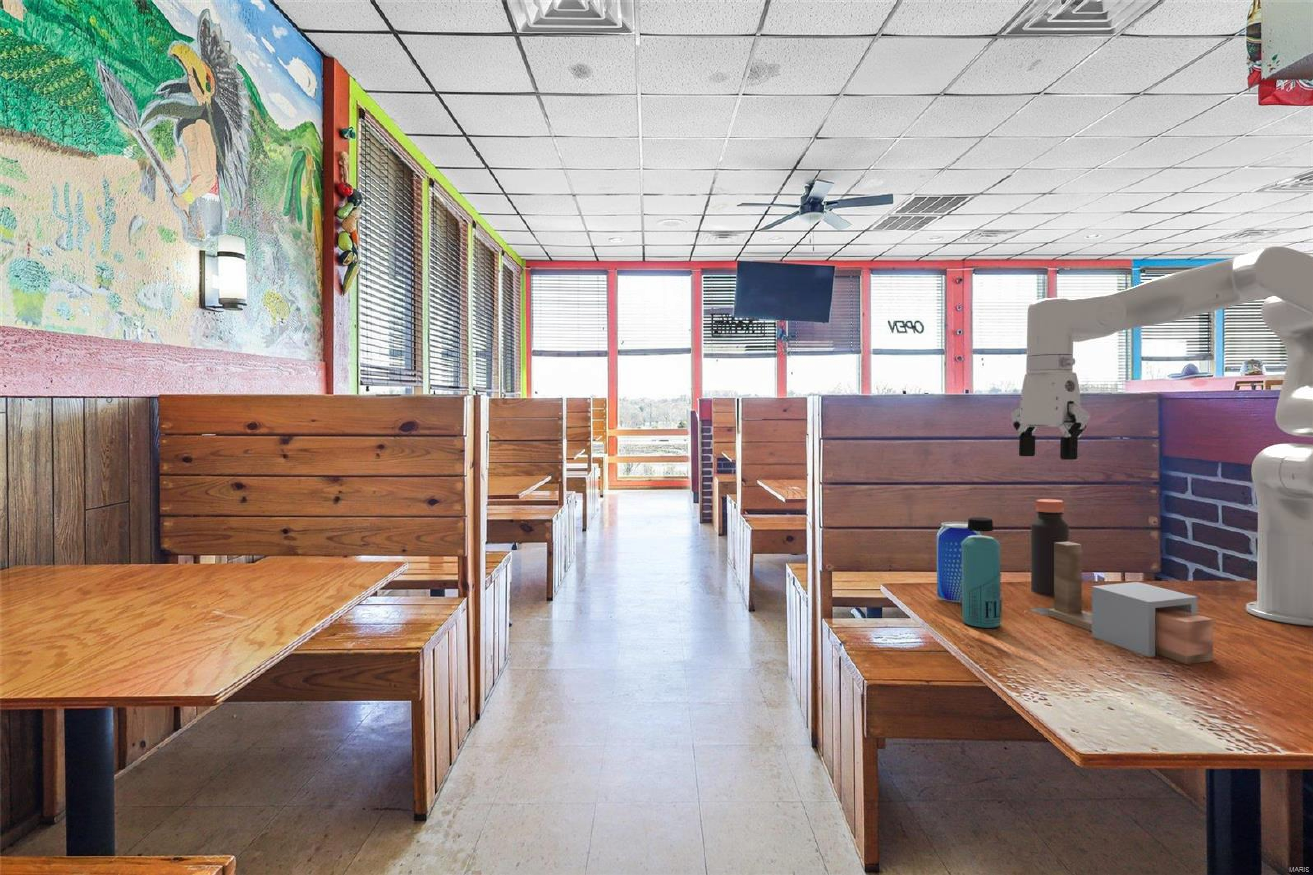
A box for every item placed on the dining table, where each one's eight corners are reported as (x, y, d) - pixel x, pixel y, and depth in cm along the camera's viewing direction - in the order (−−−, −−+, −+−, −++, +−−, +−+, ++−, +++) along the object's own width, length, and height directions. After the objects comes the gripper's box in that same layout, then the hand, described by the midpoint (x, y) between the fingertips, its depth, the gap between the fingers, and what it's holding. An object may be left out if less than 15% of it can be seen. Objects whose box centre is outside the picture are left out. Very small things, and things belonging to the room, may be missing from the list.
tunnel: (1137, 632, 115) (1137, 581, 115) (1197, 651, 105) (1197, 596, 105) (1091, 637, 113) (1091, 586, 113) (1148, 658, 103) (1148, 602, 103)
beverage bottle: (985, 638, 116) (985, 521, 115) (952, 628, 122) (951, 517, 121) (1010, 632, 119) (1010, 518, 118) (977, 622, 125) (976, 513, 124)
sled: (1070, 613, 126) (1070, 540, 125) (1212, 660, 101) (1213, 570, 100) (1047, 615, 124) (1047, 542, 124) (1186, 664, 100) (1186, 573, 99)
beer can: (937, 606, 136) (936, 526, 135) (937, 596, 143) (936, 520, 143) (984, 610, 133) (983, 528, 132) (981, 599, 140) (980, 521, 140)
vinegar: (1025, 592, 145) (1025, 498, 144) (1060, 593, 144) (1060, 498, 143) (1039, 601, 138) (1038, 502, 137) (1075, 602, 137) (1075, 502, 136)
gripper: (1106, 363, 120) (1103, 460, 121) (1029, 369, 137) (1027, 454, 137) (1071, 362, 118) (1069, 461, 119) (998, 368, 135) (996, 455, 136)
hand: (1047, 457), depth 128 cm, fingers open, 9 cm apart
